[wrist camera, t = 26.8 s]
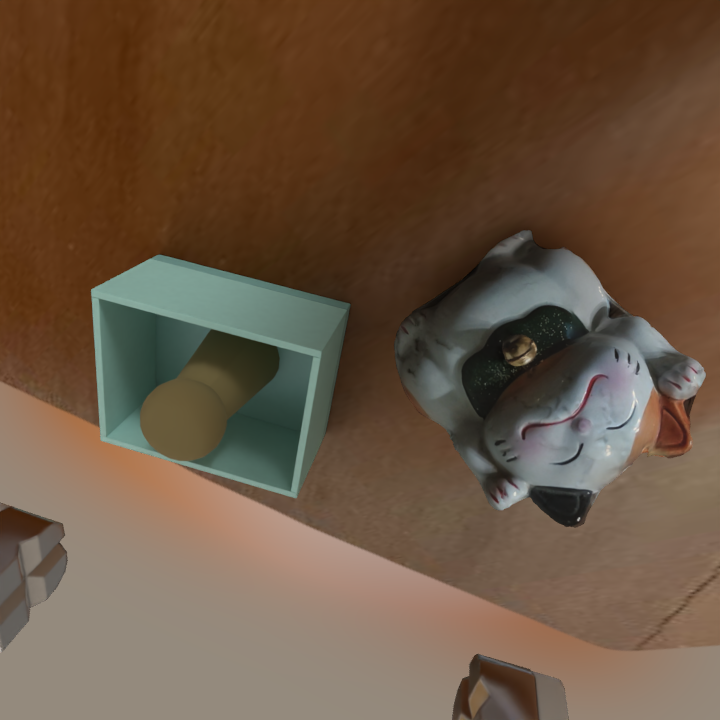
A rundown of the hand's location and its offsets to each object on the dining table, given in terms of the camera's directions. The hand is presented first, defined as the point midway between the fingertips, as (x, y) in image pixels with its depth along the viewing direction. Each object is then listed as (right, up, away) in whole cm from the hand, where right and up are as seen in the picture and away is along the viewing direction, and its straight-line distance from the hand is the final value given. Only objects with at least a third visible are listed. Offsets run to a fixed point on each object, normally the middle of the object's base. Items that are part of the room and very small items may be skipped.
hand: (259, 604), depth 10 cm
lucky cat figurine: (+14, +7, +27) cm, 31 cm away
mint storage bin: (-7, +9, +26) cm, 28 cm away
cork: (-7, +5, +31) cm, 32 cm away
